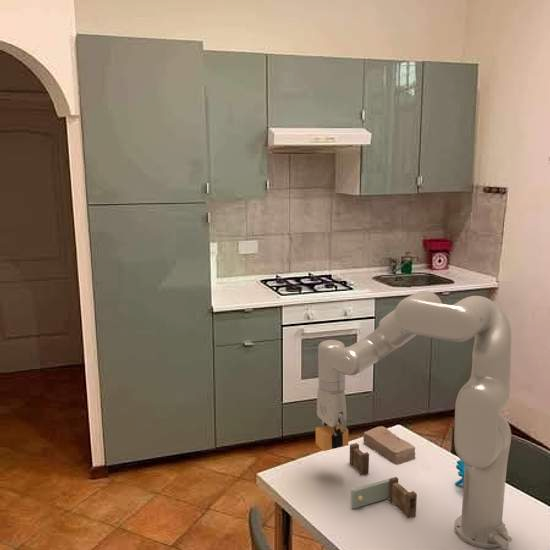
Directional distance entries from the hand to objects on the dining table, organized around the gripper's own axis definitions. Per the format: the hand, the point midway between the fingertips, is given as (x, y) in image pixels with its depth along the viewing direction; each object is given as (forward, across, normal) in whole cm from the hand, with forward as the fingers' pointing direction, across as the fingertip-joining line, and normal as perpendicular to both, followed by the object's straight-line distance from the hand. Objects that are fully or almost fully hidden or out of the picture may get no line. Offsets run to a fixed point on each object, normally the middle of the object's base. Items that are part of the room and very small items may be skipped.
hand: (332, 442), depth 169 cm
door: (+11, +16, +4) cm, 20 cm away
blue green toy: (+12, +20, +33) cm, 40 cm away
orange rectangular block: (+1, 0, 0) cm, 1 cm away
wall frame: (+11, +10, +10) cm, 18 cm away
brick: (+12, -7, +24) cm, 28 cm away
